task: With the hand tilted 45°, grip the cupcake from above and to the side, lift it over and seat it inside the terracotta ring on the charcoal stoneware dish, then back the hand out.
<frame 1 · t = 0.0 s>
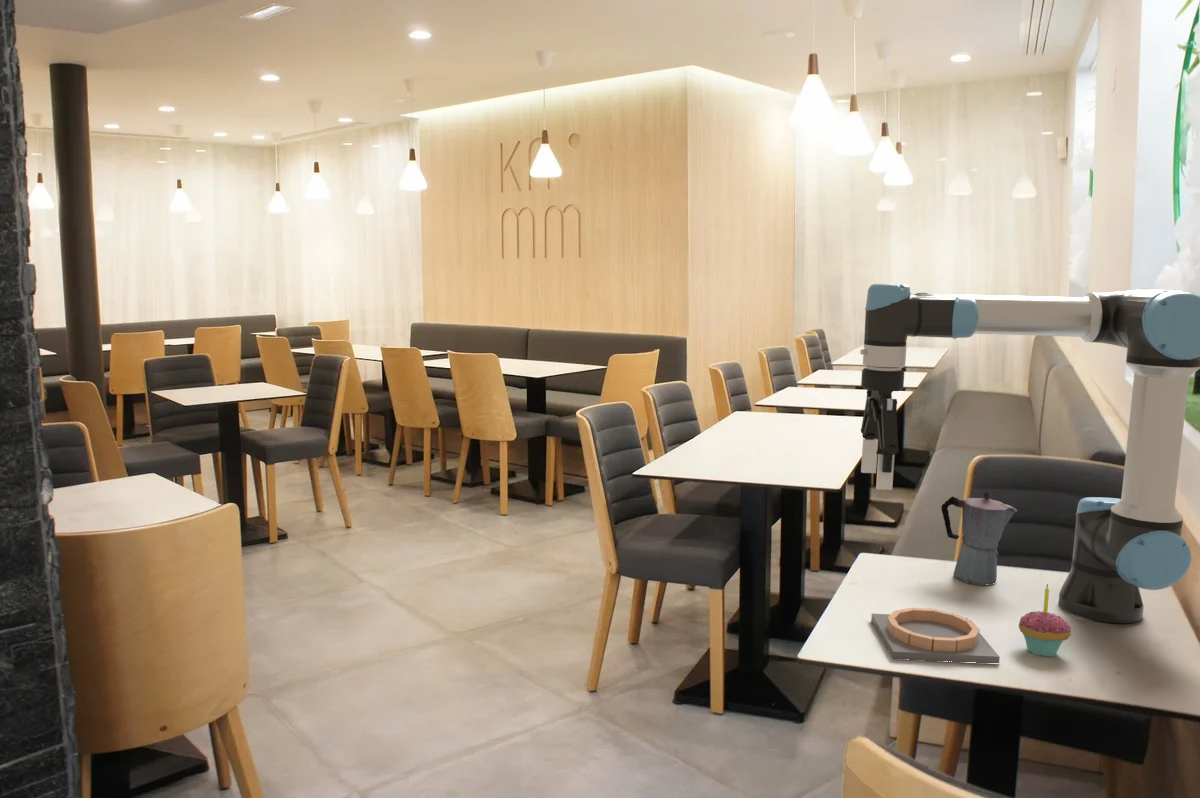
hand: (875, 480, 177), 28 cm above the table, tool pointing down, fingers open, 13 cm apart
cupcake: (1042, 652, 170), on the table
moka pot: (973, 580, 208), on the table
ring dish: (931, 641, 173), on the table
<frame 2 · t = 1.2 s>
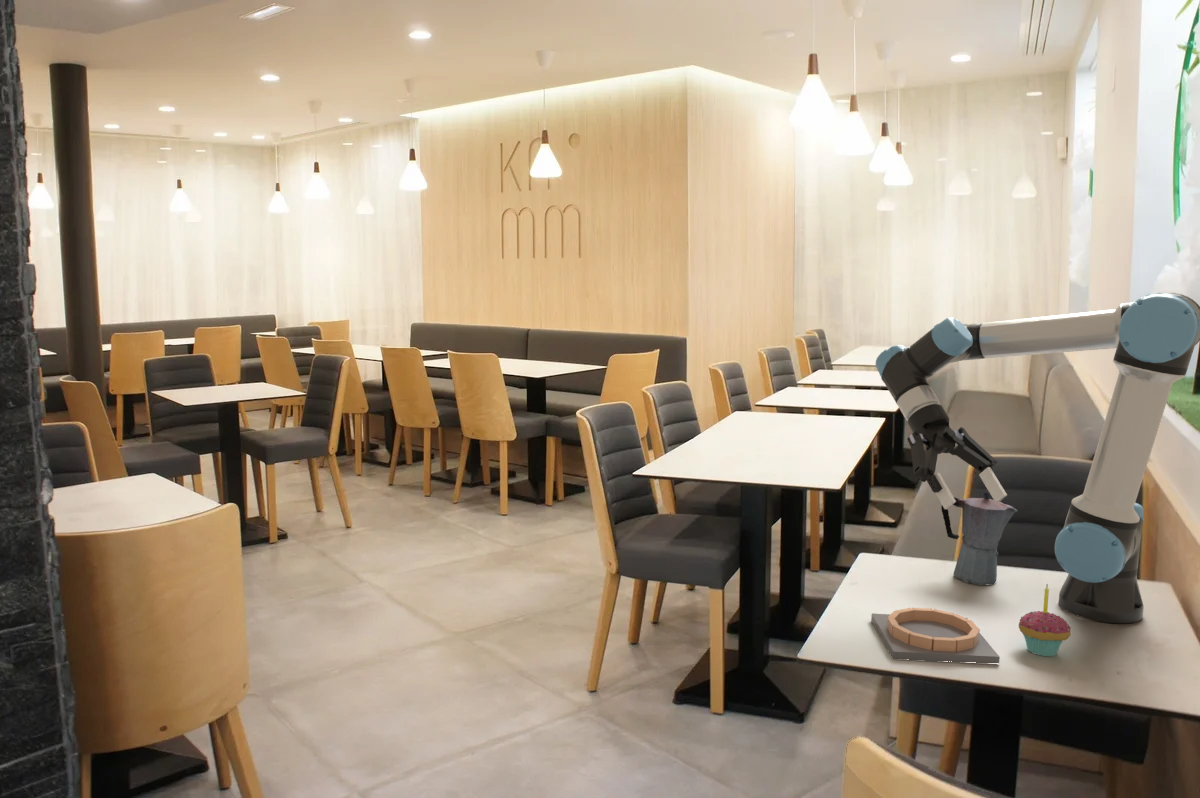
hand: (976, 502, 182), 23 cm above the table, tool tilted 45°, fingers open, 13 cm apart
nothing on the table moved.
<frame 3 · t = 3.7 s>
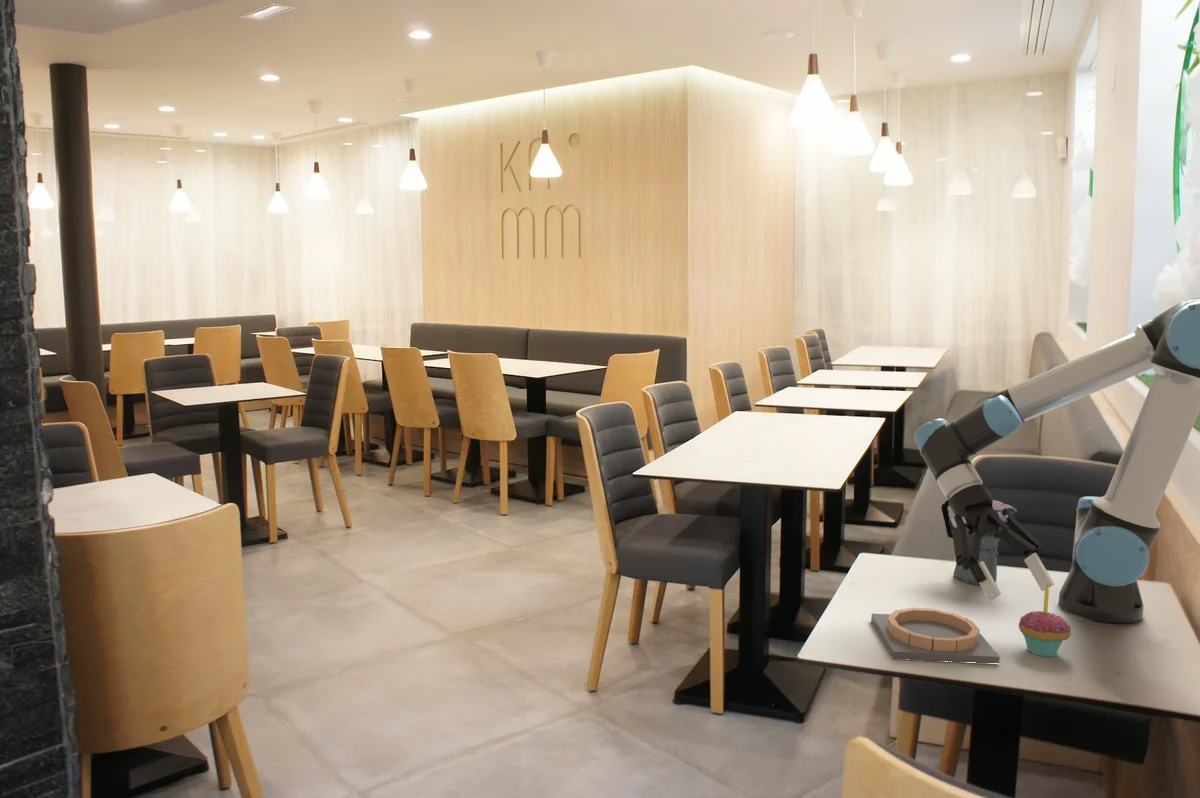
hand: (1022, 592, 172), 10 cm above the table, tool tilted 45°, fingers open, 13 cm apart
nothing on the table moved.
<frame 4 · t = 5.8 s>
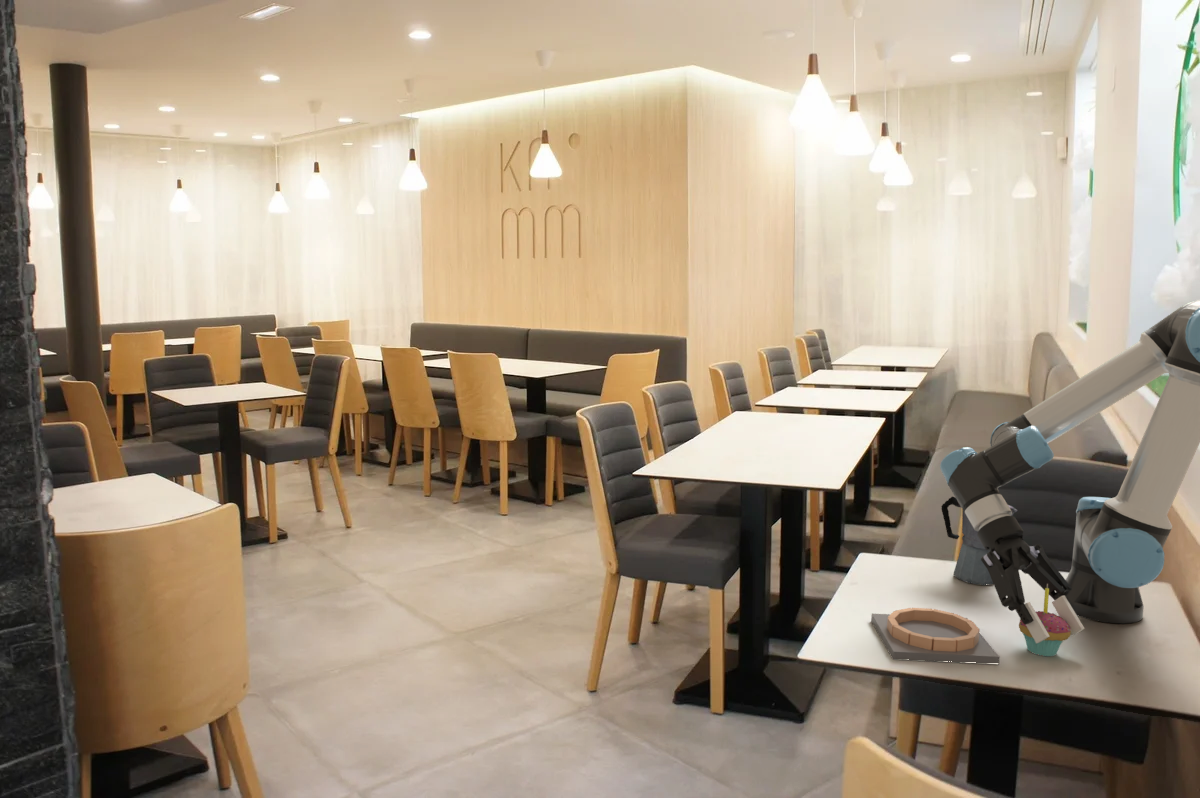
hand: (1060, 635, 166), 4 cm above the table, tool tilted 45°, fingers closed on cupcake, 8 cm apart
cupcake: (1042, 652, 170), on the table, touching gripper
everything else where it was.
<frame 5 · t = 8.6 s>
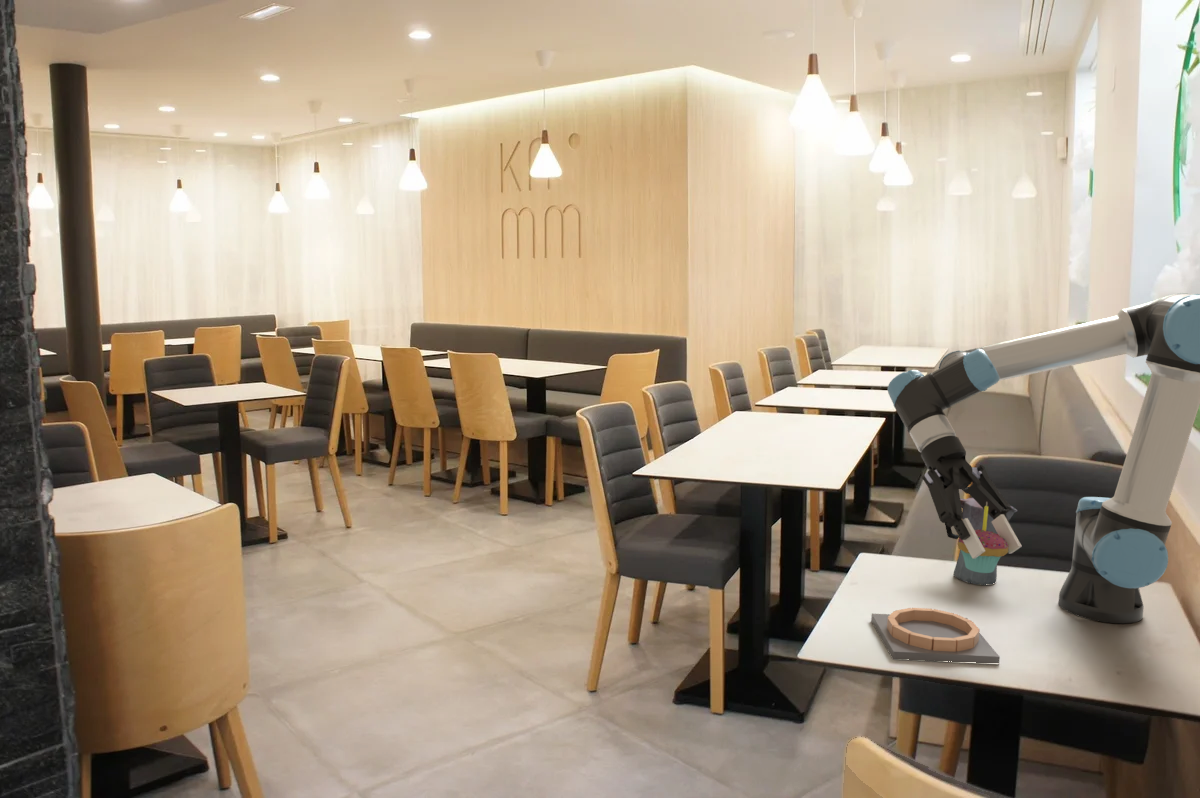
hand: (997, 552, 167), 18 cm above the table, tool tilted 45°, fingers closed on cupcake, 8 cm apart
cupcake: (980, 570, 170), point 14 cm above the table, touching gripper
everything else where it was.
when the fingers open (7 cm above the table, at t = 11.4 s): cupcake drops 1 cm, resting on ring dish.
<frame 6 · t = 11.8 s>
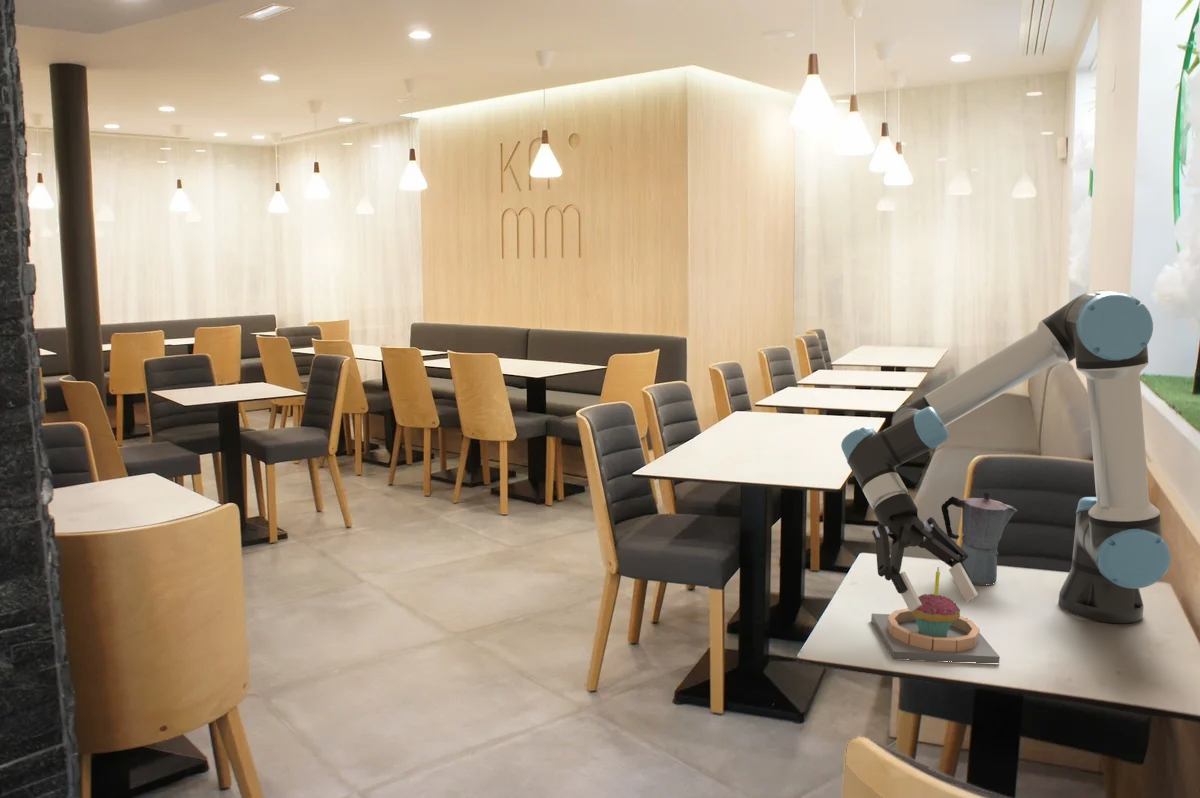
hand: (944, 603, 170), 8 cm above the table, tool tilted 45°, fingers open, 13 cm apart
cupcake: (933, 634, 173), point 1 cm above the table, touching ring dish
everything else where it was.
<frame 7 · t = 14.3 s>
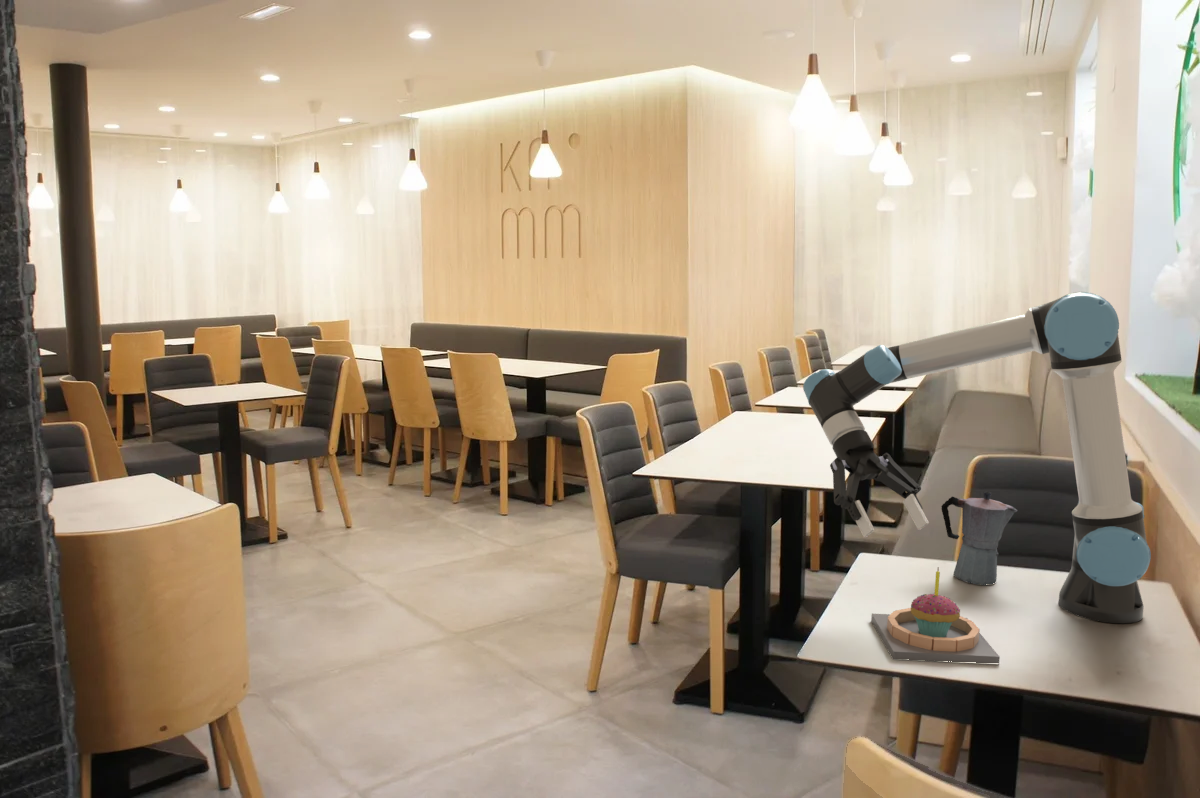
hand: (897, 530, 180), 18 cm above the table, tool tilted 45°, fingers open, 13 cm apart
nothing on the table moved.
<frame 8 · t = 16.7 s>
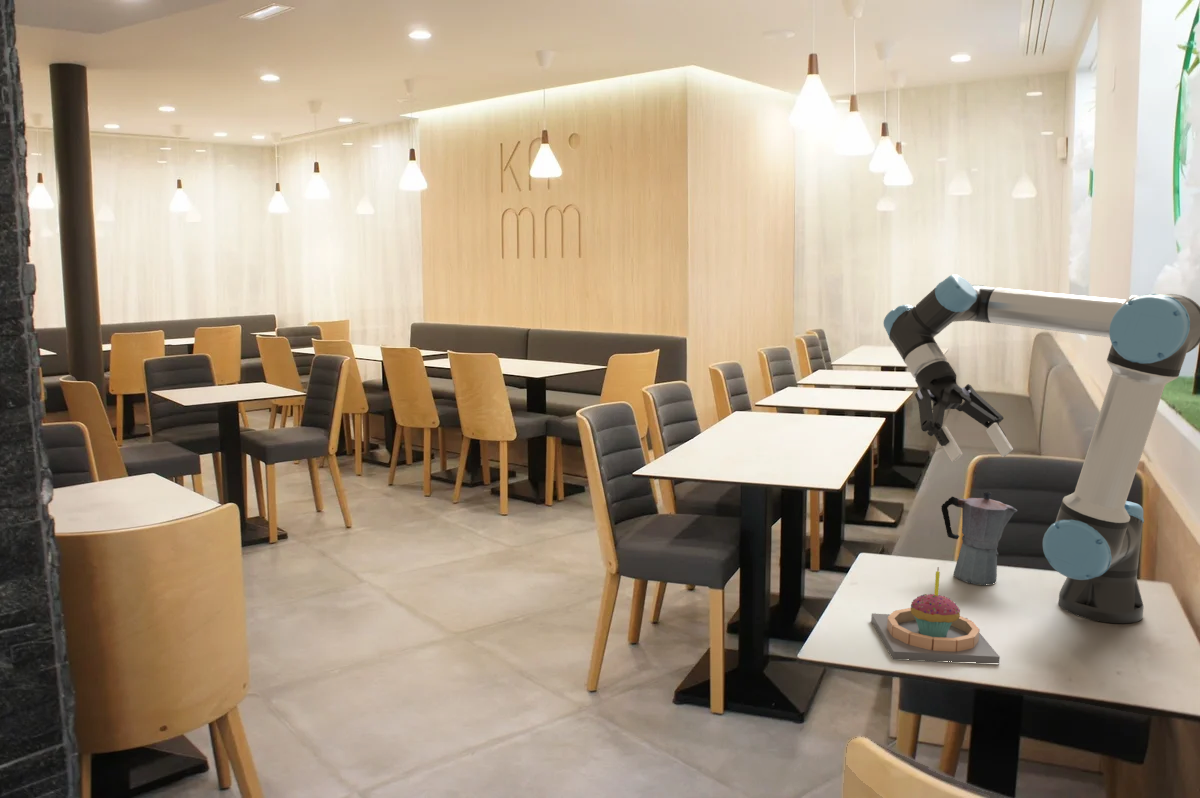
hand: (983, 455, 184), 32 cm above the table, tool tilted 45°, fingers open, 13 cm apart
nothing on the table moved.
at the end: cupcake inside the target area on the ring dish (0.4 cm from its centre), point 1.3 cm above the ring dish's base; cupcake tilted 0°; the gripper is holding nothing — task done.
